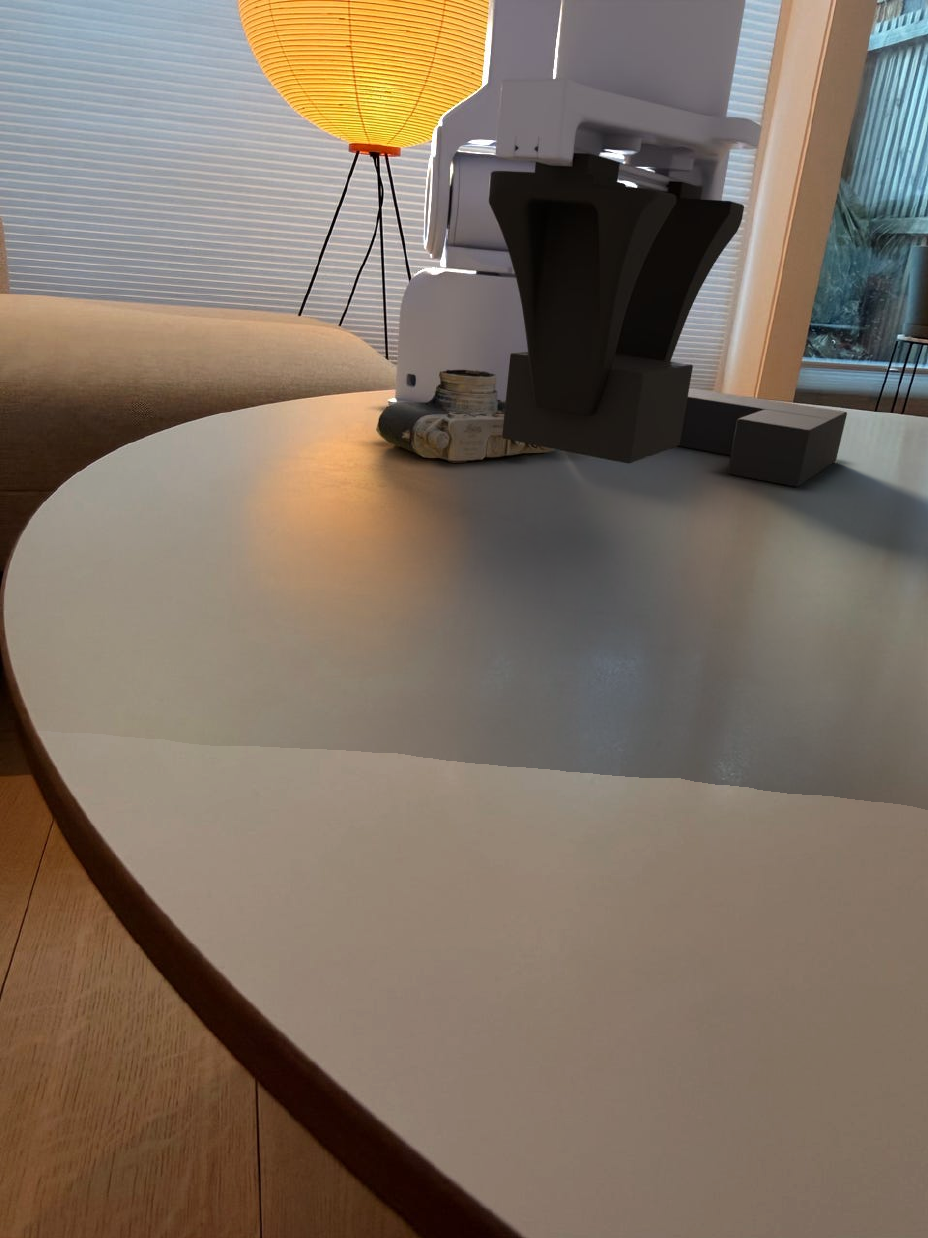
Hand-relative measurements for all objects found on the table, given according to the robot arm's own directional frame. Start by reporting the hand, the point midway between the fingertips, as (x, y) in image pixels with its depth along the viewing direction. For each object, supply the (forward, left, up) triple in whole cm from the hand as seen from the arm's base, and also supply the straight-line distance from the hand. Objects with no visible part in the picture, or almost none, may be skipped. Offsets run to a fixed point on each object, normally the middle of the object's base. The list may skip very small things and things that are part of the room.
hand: (597, 403), depth 34 cm
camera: (-12, +12, -6) cm, 18 cm away
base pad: (-3, +23, -5) cm, 24 cm away
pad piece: (0, 0, -1) cm, 1 cm away
